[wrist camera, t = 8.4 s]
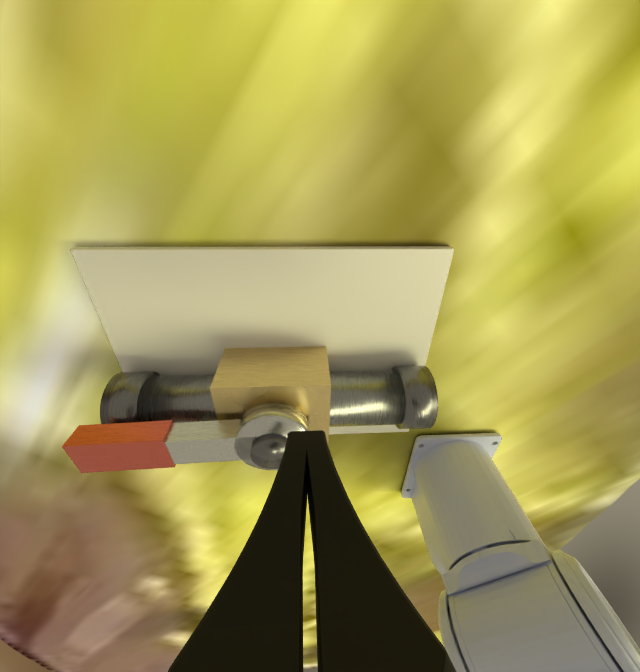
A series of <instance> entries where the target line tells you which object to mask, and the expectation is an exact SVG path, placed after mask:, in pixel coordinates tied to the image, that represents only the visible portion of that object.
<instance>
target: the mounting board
mask: <svg viewBox="0 0 640 672" xmlns="http://www.w3.org/2000/svg"><path fill="white" fill-rule="evenodd" d="M70 251H71V253H72V255H73V258H74V260H75V262H76V265H77V267H78V269H79V272H80V274H81V276H82V279H83V281H84V283H85V286H86V288H87V290H88V293H89V295H90V298H91V300H92V302H93V305H94V307H95V309H96V312H97V314H98V316H99V319H100V321H101V323H102V326H103V328H104V330H105V333H106V335H107V337H108V340H109V342H110V344H111V347H112V349H113V351H114V354H115V356H116V358H117V361H118V363H119V365H120V368H121V370H122V372H149V371H154V372H158V373H159V374H160V376H165V375H209V374H215V373H216V371H217V368H218V365H219V363H220V360H221V358H222V355H223V352H224V350H225V348H257V347H311V346H326V349H327V357H328V365H329V372H339V371H382V370H392V368H393V367H394V366H418V365H423V366H425V365H426V361H427V357H428V353H429V348H430V344H431V340H432V336H433V332H434V328H435V324H436V320H437V316H438V312H439V308H440V304H441V300H442V296H443V292H444V288H445V284H446V280H447V276H448V272H449V268H450V264H451V260H452V256H453V252H454V249H453V248H452V247H450V246H301V247H75V248H73V249H71V250H70ZM386 432H409V429H398V428H397V427H396V425H372V426H342V427H329V434H356V433H386Z"/></svg>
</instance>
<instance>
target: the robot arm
mask: <svg viewBox="0 0 640 672" xmlns="http://www.w3.org/2000/svg"><path fill="white" fill-rule="evenodd" d="M501 440H502V437H501V435H500V434H499V433H480V434H451V435H422V436H418V437H417V438H416V440H415V443H414V447H413V451H412V454H411V458H410V462H409V465H408V469H407V473H406V476H405V480H404V484H403V487H402V491H401V495H402V497H403V498H412V502H413V505H414V508H415V511H416V514H417V517H418V520H419V524H420V527H421V530H422V533H423V536H424V539H425V543H426V546H427V549H428V552H429V555H430V557H431V560H432V562H433V564H434V565H435V567H436V569H437V570H438V571H439V572H440V574H441V576H442V579H443V582H444V585H445V588H446V589H445V590H443V591H442V592H441V594H440V598H439V607H438V621H439V628H440V632H441V637H442V641H443V644H444V646H443V645H442V644H441V642H440V641H439V640H438V638H437V637H436V636H435V634H434V633H433V632H432V630H431V629H430V628H429V626H428V625H427V624H426V622H425V621H424V620H423V618H422V617H421V616H420V614H419V613H418V611H417V610H416V609H415V607H414V606H413V604H412V603H411V601H410V600H409V599H408V597H407V596H406V594H405V593H404V591H403V590H402V589H401V587H400V586H399V584H398V582H397V581H396V579H395V578H394V576H393V575H392V573H391V572H390V570H389V569H388V567H387V566H386V564H385V562H384V561H383V559H382V558H381V556H380V555H379V553H378V551H377V550H376V548H375V546H374V544H373V543H372V541H371V539H370V538H369V536H368V534H367V532H366V531H365V529H364V527H363V525H362V523H361V522H360V520H359V518H358V516H357V514H356V512H355V510H354V508H353V506H352V504H351V502H350V500H349V498H348V496H347V493H346V491H345V489H344V487H343V484H342V482H341V480H340V477H339V475H338V473H337V470H336V468H335V465H334V462H333V459H332V457H331V454H330V450H329V447H328V444H327V440H326V435H325V432H324V431H323V430H317V431H290V432H289V433H288V434H287V441H286V445H285V450H284V453H283V457H282V460H281V463H280V466H279V469H278V472H277V475H276V477H275V480H274V483H273V486H272V488H271V491H270V493H269V495H268V498H267V500H266V503H265V505H264V507H263V510H262V512H261V514H260V516H259V518H258V521H257V523H256V525H255V527H254V529H253V531H252V533H251V535H250V537H249V539H248V541H247V543H246V545H245V547H244V549H243V550H242V552H241V554H240V556H239V558H238V560H237V561H236V563H235V565H234V567H233V569H232V570H231V572H230V574H229V576H228V577H227V579H226V581H225V583H224V584H223V586H222V588H221V589H220V591H219V592H218V594H217V596H216V597H215V599H214V601H213V602H212V604H211V606H210V607H209V609H208V610H207V612H206V614H205V615H204V617H203V618H202V620H201V622H200V623H199V625H198V626H197V628H196V629H195V631H194V632H193V634H192V635H191V637H190V638H189V640H188V641H187V643H186V644H185V646H184V647H183V649H182V650H181V652H180V653H179V655H178V656H177V658H176V659H175V661H174V662H173V664H172V665H171V667H170V668H169V670H168V672H303V551H304V536H305V521H306V506H307V493H308V503H309V513H310V523H311V532H312V542H313V552H314V564H315V588H316V623H317V659H318V672H640V649H639V648H638V646H637V645H636V643H635V642H634V640H633V639H632V637H631V635H630V634H629V633H628V631H627V630H626V628H625V627H624V625H623V624H622V622H621V621H620V619H619V618H618V616H617V615H616V613H615V612H614V611H613V609H612V607H611V606H610V605H609V603H608V602H607V600H606V599H605V598H604V596H603V595H602V593H601V592H600V590H599V589H598V588H597V586H596V585H595V583H594V582H593V580H592V579H591V578H590V576H589V575H588V574H587V572H586V571H585V570H584V568H583V567H582V566H581V564H580V563H579V562H578V561H577V560H576V559H575V558H574V557H572V556H570V555H568V554H565V553H564V552H563V551H561V550H557V551H555V552H553V553H552V552H551V551H550V550H549V549H548V548H547V547H546V546H545V544H544V543H543V541H542V540H541V538H540V536H539V535H538V533H537V531H536V530H535V528H534V527H533V525H532V523H531V522H530V520H529V519H528V517H527V515H526V514H525V512H524V510H523V509H522V507H521V506H520V504H519V502H518V501H517V499H516V497H515V496H514V494H513V493H512V491H511V489H510V488H509V486H508V485H507V483H506V481H505V480H504V478H503V476H502V475H501V473H500V472H499V470H498V468H497V467H496V465H495V464H494V462H493V460H492V458H493V456H494V454H495V452H496V450H497V448H498V446H499V444H500V442H501ZM444 647H445V648H444Z"/></svg>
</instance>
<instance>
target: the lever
mask: <svg viewBox="0 0 640 672" xmlns="http://www.w3.org/2000/svg"><path fill="white" fill-rule="evenodd" d="M290 431H309V422H308V420H307V418H306V416H305V415H304V414H303V413H302V412H301V411H299V410H298V409H296V408H294V407H292V406H290V405H286V404H281V403H265V404H260V405H257V406H255V407H253V408H251V409H249V410H248V411H246V412H245V413H244V414H243V416H242V417H241V419H234V420H217V421H200V422H183V423H173V420H166V421H149V422H131V423H114V424H97V425H80V426H78V427H77V429H76V430H75V431H74V432H73V434H72V435H71V436H70V437H69V439H68V440H67V441H66V442H65V443H64V445H63V446H62V447H63V449H64V450H65V452H66V453H67V454H68V456H69V457H70V458H71V460H72V461H73V462H74V464H75V465H76V466H77V468H78V469H79V470H80V472H81V473H88V472H104V471H120V470H136V469H152V468H168V467H175V465H176V464H186V463H202V462H218V461H234V460H242V461H244V462H245V463H247V464H249V465H250V466H253V467H256V468H259V469H264V470H278V469H279V466H280V463H281V460H282V457H283V453H284V450H285V445H286V441H287V434H288V433H289V432H290Z"/></svg>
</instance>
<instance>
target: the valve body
mask: <svg viewBox="0 0 640 672" xmlns="http://www.w3.org/2000/svg"><path fill="white" fill-rule="evenodd" d="M265 403H281V404H286V405H290V406H292V407H294V408H296V409H298V410H299V411H301V412H302V413H303V414H304V415H305V416H306V418H307V420H308V422H309V431H317V430H323V431H324V432H325V435H326V440H327V444H328V446H329V427H342V426H372V425H396V427H397V428H398V429H419V428H431V427H432V426H433V425H434V423H435V421H436V417H437V411H438V397H437V390H436V385H435V381H434V378H433V376H432V374H431V372H430V370H429V369H428V368H427V367H426V366H423V365H418V366H394V367H393V368H392V370H382V371H339V372H329V365H328V357H327V349H326V346H311V347H257V348H225V350H224V352H223V355H222V358H221V360H220V363H219V365H218V368H217V371H216V373H215V374H209V375H165V376H160V374H159V373H158V372H154V371H149V372H121V373H118V374H116V375H115V376H114V377H113V378H112V379H111V380H110V381H109V383H108V384H107V386H106V388H105V390H104V393H103V396H102V399H101V405H100V419H101V424H114V423H131V422H149V421H166V420H173V423H183V422H200V421H217V420H234V419H241V417H242V416H243V414H244V413H245V412H246V411H248V410H249V409H251V408H253V407H255V406H257V405H260V404H265Z"/></svg>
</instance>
